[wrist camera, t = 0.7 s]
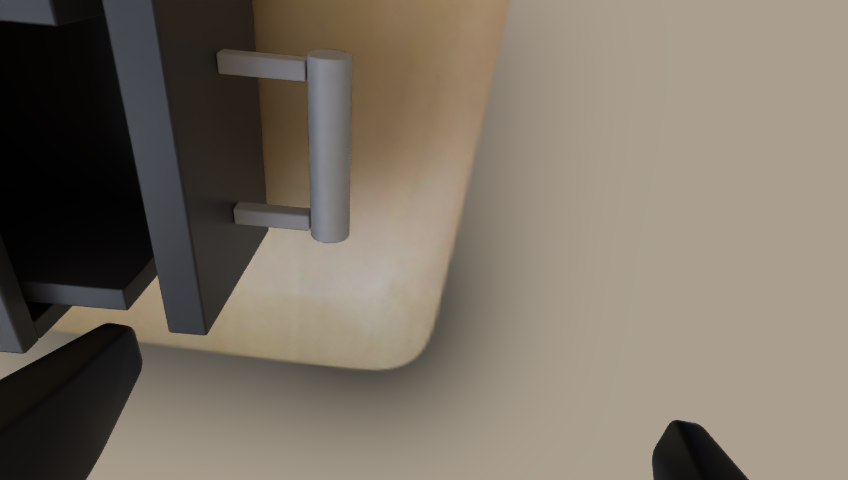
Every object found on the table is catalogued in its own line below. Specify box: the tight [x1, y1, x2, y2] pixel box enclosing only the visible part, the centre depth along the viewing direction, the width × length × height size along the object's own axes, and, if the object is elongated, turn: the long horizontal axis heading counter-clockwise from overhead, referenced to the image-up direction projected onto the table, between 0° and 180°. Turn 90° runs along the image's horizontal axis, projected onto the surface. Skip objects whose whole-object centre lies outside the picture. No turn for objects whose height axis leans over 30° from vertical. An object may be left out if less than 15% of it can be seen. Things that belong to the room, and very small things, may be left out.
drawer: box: [0, 0, 352, 335], centre depth 17 cm, size 16×10×7 cm, turn 85°
